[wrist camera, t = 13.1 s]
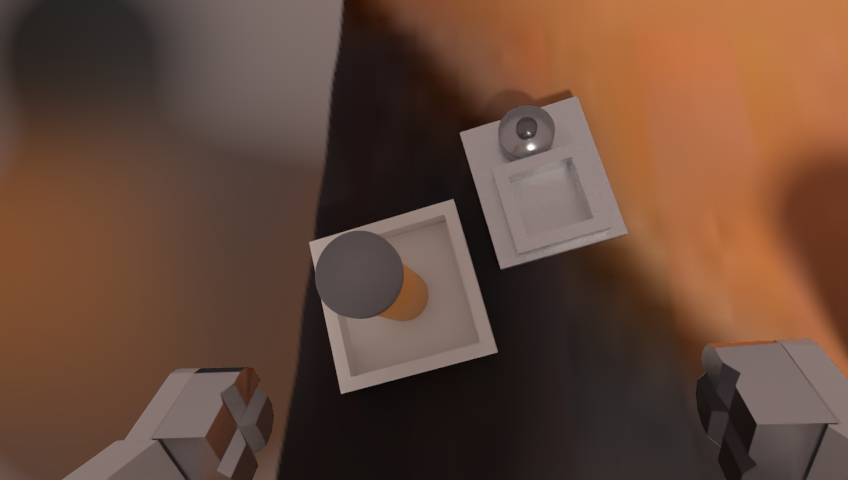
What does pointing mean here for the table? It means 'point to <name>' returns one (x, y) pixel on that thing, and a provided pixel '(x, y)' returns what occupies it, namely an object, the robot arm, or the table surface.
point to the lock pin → (368, 279)
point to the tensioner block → (541, 183)
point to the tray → (440, 320)
